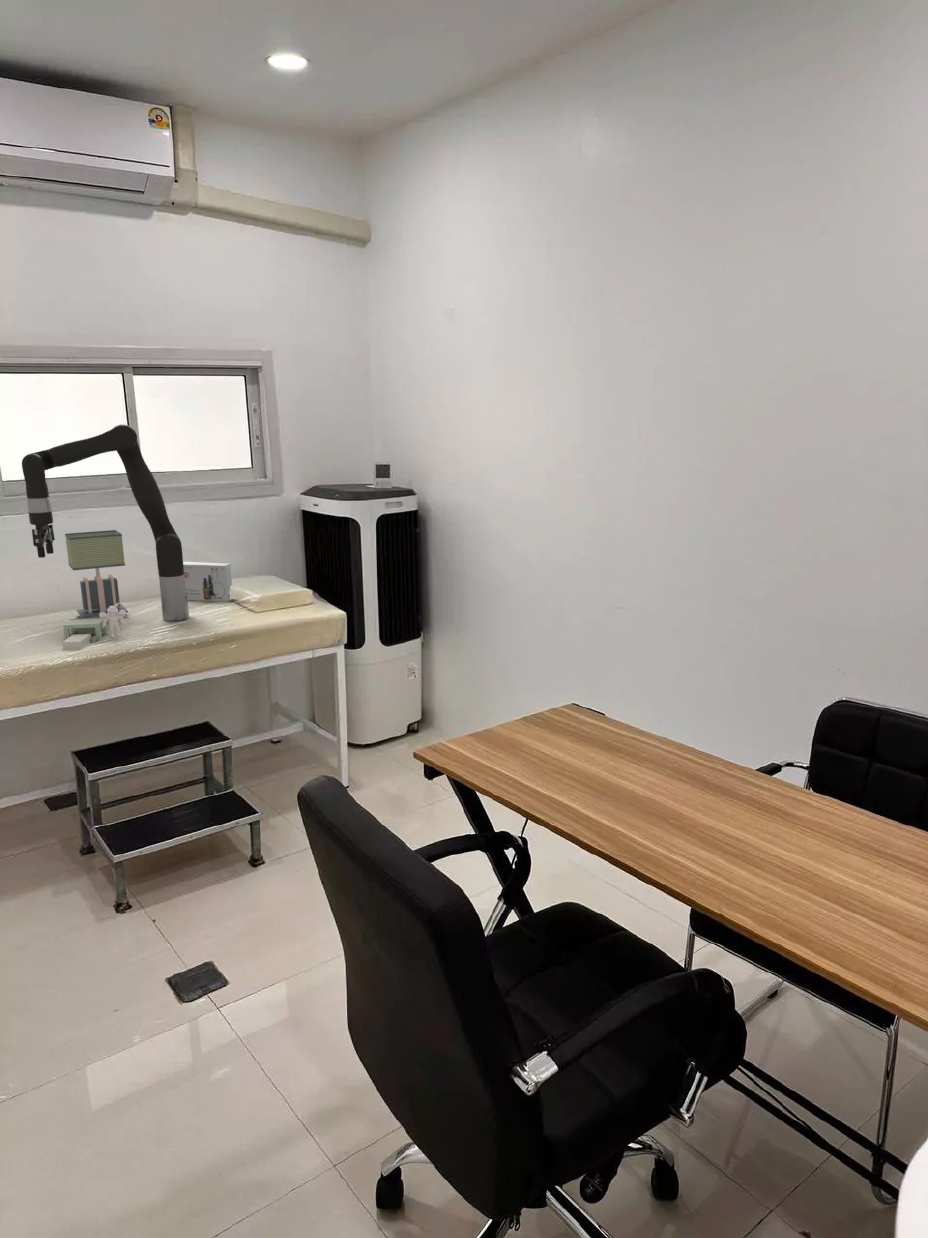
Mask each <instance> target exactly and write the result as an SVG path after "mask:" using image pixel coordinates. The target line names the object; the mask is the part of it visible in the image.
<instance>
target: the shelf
mask: <svg viewBox="0 0 928 1238" xmlns="http://www.w3.org/2000/svg"><path fill="white" fill-rule="evenodd" d="M103 621H104V619H102V618H84V619H83V618H70V619H69V620H68V621H66V622H65V623H64V624H63V625H62V628H63V629H62V630H63V636H64V637H63V638H64V640H63V641H65V640H66V639H67V638H69V637H70V636H72V635H73V634H91V635H93V636H91V639H92V641H91V643H92V642H94V643H96V642H97V641H98V640H102V639H103V635H107V634H108V627H107V622H106V623H105V624H106V625H105V626H104V629H103V628H102V624H103Z"/></svg>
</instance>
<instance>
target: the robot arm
mask: <svg viewBox="0 0 928 1238" xmlns="http://www.w3.org/2000/svg"><path fill="white" fill-rule="evenodd" d="M109 452H117V454H118V456H119V458H120V460H121V462H122V464H123V466H124V469H125V473H126V476H127V480H128V484H129V487H130V489H131V492H132V494H133V497H134V499H135V501H136V503H137V506H138V507H139V509H140V511H141V513H142V514H143V516H144V518H145V520H146V521H147V522H148V524H149V526H150V529H151V531H152V535H153V539H154V541H155V553H156V563H157V565H156V566H157V572H158V581H159V591H160V600H161V601H160V602H161V613H162V614H161V615H162V620H163V621H165V620H166V621H167V622H176V621H175V620H178V621H183V620H182V619H186V620H188V618H189V616H190V611H189V600H188V599H187V592H186V590H185V579H184V566H183V562H184V558H183V546H182V541H181V539H180V537H179V536H178V534H177V531H176V530H175V528H174V526H173V524H172V523H171V521H170V519H169V515H168V512H167V507H166V505H165V502H164V499H163V496H162V493H161V490H160V488H159V486H158V483H157V481H156V479H155V477H154V475H153V473H152V472H151V469H149V467H148V464H147V463H146V462H145V460H144V456H143V455H142V452H141V449H140V445H139V442H138V435H137V433H136V430H134V428H132V427H131V426H129V425H128V424H123V423H122V424H121V423H120V424H117V425H115V426H114V427H113V428H112V429H109V430H107V431H105V432H103V433H101V434H98V435H95V436H92V437H91V436H90V437H88V438H85V439H84V438H83V439H79V440H74V441H71V442H67V443H63V444H59V445H57V446H53V447H51V448H49V449H45V450H40V451H36V452H31V453H29V454H26V455H24V457H23V458H22V459H21V469H22V473H23V479H24V482H25V492H26V498H27V500H26V501H27V505H26V506H27V512H28V513H27V514H28V519H29V524H30V525H33V526H35V529H34V528H33V529H31V534H32V535H31V536H32V542H33V543H32V544H33V546H34V547H36V551H37V557H38V558H46V554H48V555H50V554H51V555H52V554H54V553H55V552H54V544H53V543H54V541H56V539H55V534H54V526H53V523H54V518H53V509H52V504H51V499H50V492H49V487H48V483H47V481H46V480H47V479H46V473H45V472H46V471H48V470H51V469H55V468H59V467H63V466H66V465H67V466H68V465H71V464H75V463H78V462H80V461H83V460H86V459H89V458H92V457H94V456H98V455H101V454H105V453H109Z"/></svg>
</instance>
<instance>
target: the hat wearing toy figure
mask: <svg viewBox="0 0 928 1238" xmlns="http://www.w3.org/2000/svg"><path fill="white" fill-rule="evenodd" d="M120 602H121V601H120ZM120 602H118V603H117V604H115V606H109V609H107V611H108V613H107V615H106V614H105V613H104V612H102V613H101V612H100V614H99V616H100V618H102V619H104V621H103V624H102V628H103V629H104V626H105V625H107V624H108V625H109V626H108V628H109V638H110V637H113V638H115V636H116V637H118V636H119V637H122V632H121V628H120V624H119V620H120V621H122V622H121V625H124V627H126V626H127V621H126V620H125V617H126V616H127V613H126V612H125V610H124V611H123V610H120V611H119V613H118V609H117V608H115V607H117V606H116V605H119V603H120ZM120 604H121V603H120ZM122 615H124V616H125V617H124V616H122ZM104 617H105V618H104ZM105 623H106V624H105ZM114 629H115V631H114Z"/></svg>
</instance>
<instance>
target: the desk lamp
mask: <svg viewBox="0 0 928 1238" xmlns="http://www.w3.org/2000/svg"><path fill="white" fill-rule="evenodd" d="M64 537H65V544H66V552H67V560H68V561H67V562H68V566H69V567H70V568H71V569H72V571H83V570H93V569H95V575H94V579H91V580H90V579H88V578H87V577H86V576H83V577H82V581H81V580H80V581H79V584H80V592H81V599H82V608H78V609H77V608H76V611H77V614H78V615H79V616H80V619H84V618H100V616H99V614H100V612H101V613H102V612H104V613H105V614H106V615H107V613H108V611H107V609H109V606H115V604H117V603H118V602H121V601H120V595H119V594H120V593H119V585H118V579H117V578H116V577H114V576H113V575H112V574H108V575H107V577H108V578H103V577H102V576H101V573H100V569H104V568H113V567H114V568H115V567H123V566H126V563H125V555H124V545H123V534H122V533H121V532H120V531H118V530H116V529H112V530H109V529H108V530H99V531H84V532H71V533H64ZM116 606H117V607H115V608H117V609H118V613H119V611H120V610H123V611H124V610H125V612H126V614H127V613H129V611H128V610H127V608H126V607H125V606H124V605H123V604H121V603H119V605H116ZM122 616H124V615H122ZM125 617H126V615H125V616H124V617H123V618H125ZM104 618H105V617H104Z"/></svg>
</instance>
